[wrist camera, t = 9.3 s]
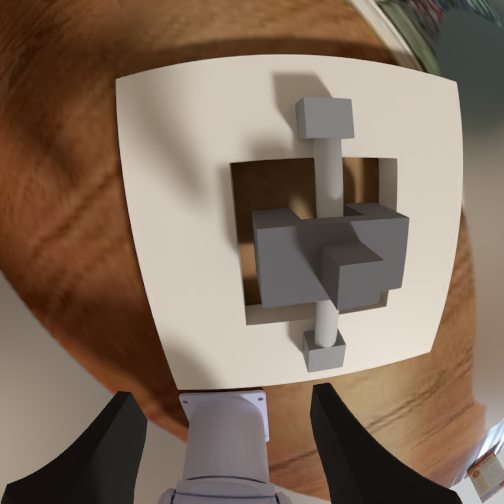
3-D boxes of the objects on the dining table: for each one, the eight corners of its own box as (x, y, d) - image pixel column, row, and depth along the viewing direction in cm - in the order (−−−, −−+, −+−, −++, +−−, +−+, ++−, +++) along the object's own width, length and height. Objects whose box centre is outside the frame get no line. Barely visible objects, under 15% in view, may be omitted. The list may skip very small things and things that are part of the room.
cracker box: (467, 472, 57) (482, 503, 38) (466, 471, 56) (482, 503, 36) (492, 452, 54) (509, 482, 35) (493, 450, 53) (510, 481, 33)
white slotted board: (417, 336, 22) (440, 365, 18) (182, 368, 22) (173, 408, 18) (436, 86, 14) (474, 79, 10) (131, 87, 14) (100, 71, 10)
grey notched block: (371, 261, 18) (424, 310, 11) (256, 274, 17) (268, 339, 11) (374, 202, 16) (438, 231, 10) (251, 210, 16) (262, 248, 10)
